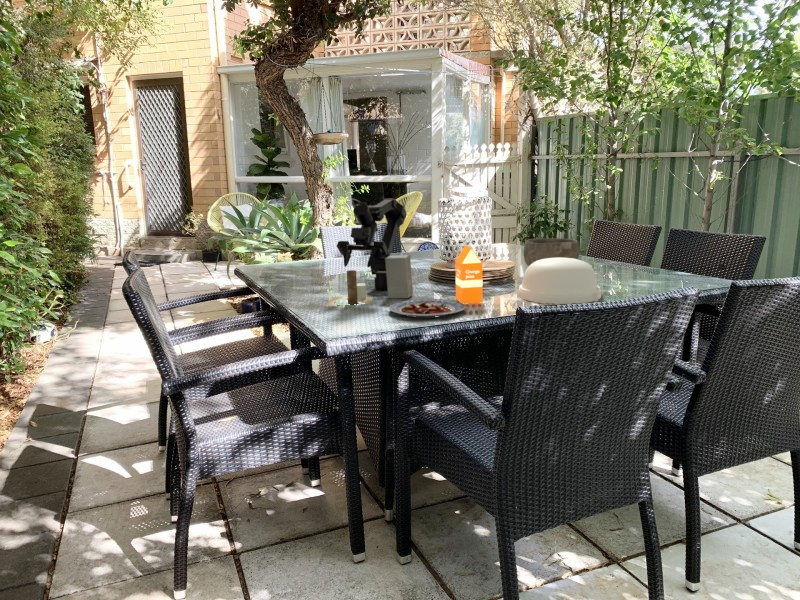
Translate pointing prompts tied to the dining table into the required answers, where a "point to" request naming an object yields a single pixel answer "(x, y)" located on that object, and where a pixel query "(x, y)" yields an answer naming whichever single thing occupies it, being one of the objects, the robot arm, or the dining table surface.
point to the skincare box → (399, 276)
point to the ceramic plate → (427, 307)
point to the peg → (352, 287)
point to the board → (333, 299)
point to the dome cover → (559, 282)
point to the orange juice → (468, 277)
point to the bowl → (550, 249)
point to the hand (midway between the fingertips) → (356, 266)
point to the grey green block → (361, 291)
